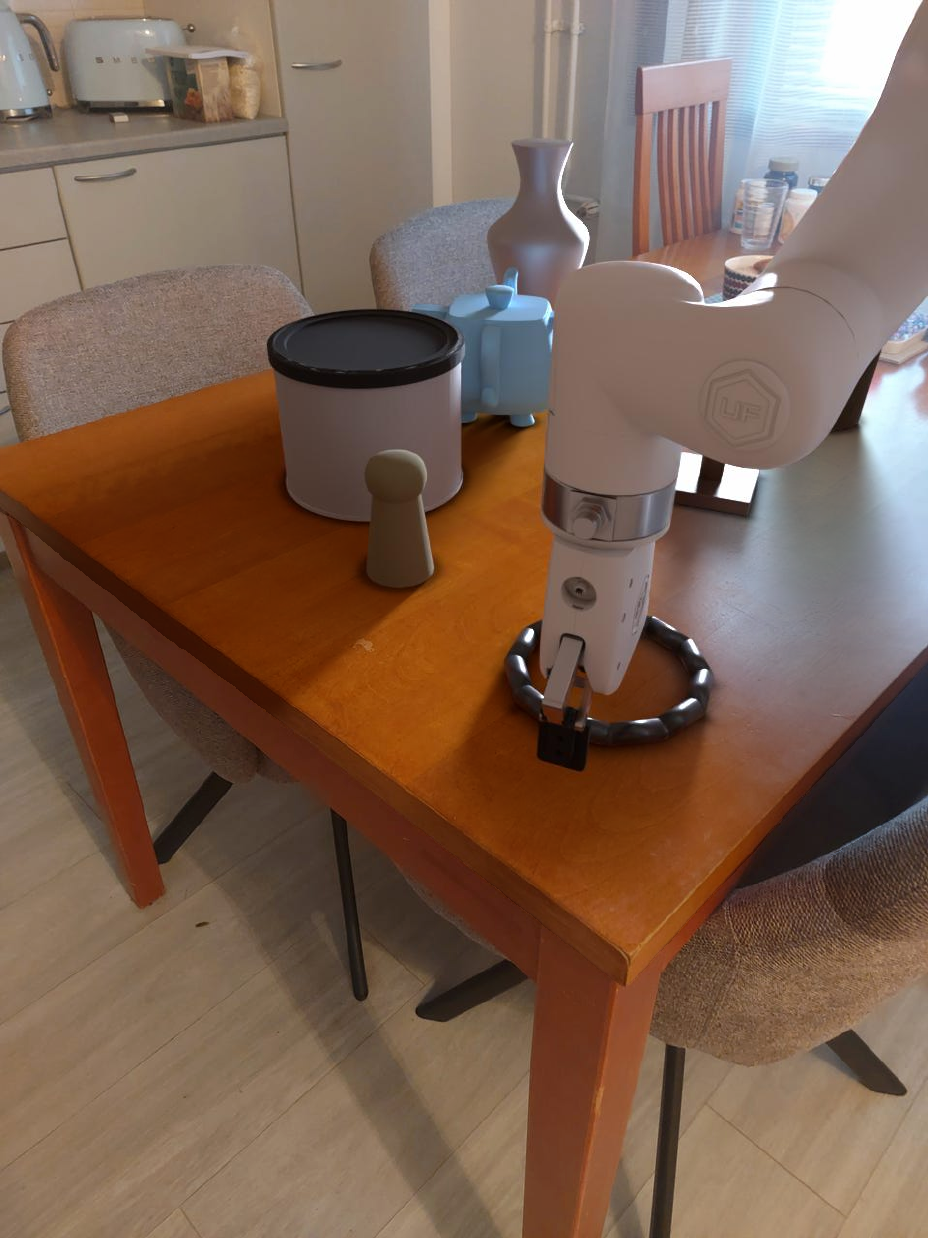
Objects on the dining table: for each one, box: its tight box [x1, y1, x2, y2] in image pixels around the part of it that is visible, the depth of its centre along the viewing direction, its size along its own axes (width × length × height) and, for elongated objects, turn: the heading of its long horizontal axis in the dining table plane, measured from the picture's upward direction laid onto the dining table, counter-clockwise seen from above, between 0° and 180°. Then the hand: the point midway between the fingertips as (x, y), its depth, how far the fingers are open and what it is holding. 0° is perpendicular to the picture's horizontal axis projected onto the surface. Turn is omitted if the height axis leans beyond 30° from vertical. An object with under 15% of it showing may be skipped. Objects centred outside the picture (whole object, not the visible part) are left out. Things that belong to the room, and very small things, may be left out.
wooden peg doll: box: [364, 449, 435, 589], centre depth 77 cm, size 6×6×11 cm
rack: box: [673, 451, 761, 517], centre depth 89 cm, size 9×9×12 cm
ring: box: [503, 614, 715, 747], centre depth 67 cm, size 15×15×2 cm
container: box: [266, 308, 465, 522], centre depth 90 cm, size 19×19×15 cm
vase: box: [486, 137, 590, 311], centre depth 127 cm, size 14×14×25 cm
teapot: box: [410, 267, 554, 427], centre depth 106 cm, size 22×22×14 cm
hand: (581, 716), depth 61 cm, fingers open, 9 cm apart
